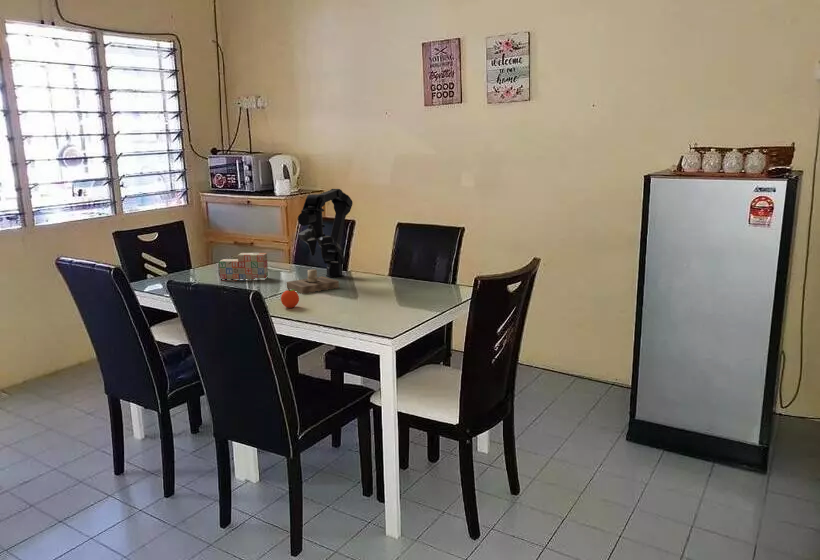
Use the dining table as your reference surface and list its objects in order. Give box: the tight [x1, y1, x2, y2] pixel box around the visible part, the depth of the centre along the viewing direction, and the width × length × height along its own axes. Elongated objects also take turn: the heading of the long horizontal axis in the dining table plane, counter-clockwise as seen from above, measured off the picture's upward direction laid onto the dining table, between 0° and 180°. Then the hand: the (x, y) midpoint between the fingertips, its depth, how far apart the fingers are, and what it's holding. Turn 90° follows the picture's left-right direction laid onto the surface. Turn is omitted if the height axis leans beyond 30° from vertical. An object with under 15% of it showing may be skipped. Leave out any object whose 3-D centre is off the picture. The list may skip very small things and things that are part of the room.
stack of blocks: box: [218, 252, 269, 279], centre depth 306 cm, size 21×6×12 cm, turn 86°
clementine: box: [280, 289, 300, 309], centre depth 252 cm, size 8×7×7 cm
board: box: [286, 276, 340, 295], centre depth 285 cm, size 18×14×3 cm
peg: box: [307, 269, 318, 283], centre depth 284 cm, size 4×4×8 cm
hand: (318, 256), depth 295 cm, fingers open, 9 cm apart
